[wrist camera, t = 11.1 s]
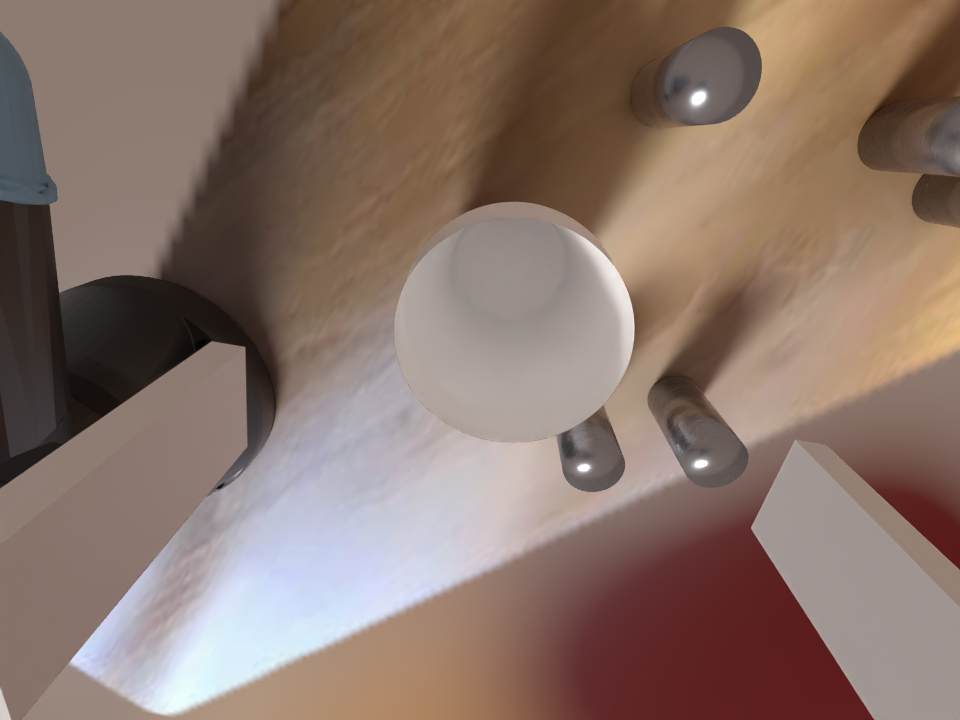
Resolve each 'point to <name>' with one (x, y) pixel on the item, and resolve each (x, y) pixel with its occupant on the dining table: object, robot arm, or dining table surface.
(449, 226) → the cup
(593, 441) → the posts
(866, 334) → the dining table surface
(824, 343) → the dining table surface
